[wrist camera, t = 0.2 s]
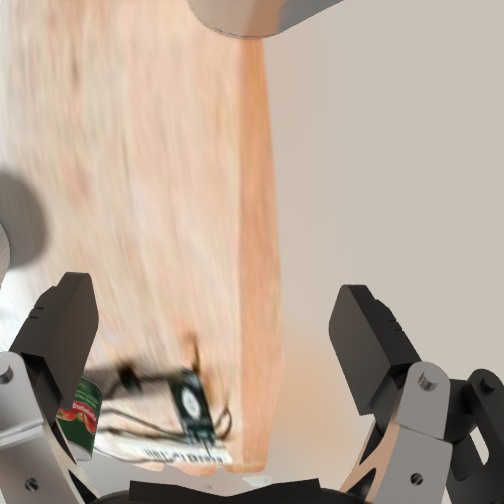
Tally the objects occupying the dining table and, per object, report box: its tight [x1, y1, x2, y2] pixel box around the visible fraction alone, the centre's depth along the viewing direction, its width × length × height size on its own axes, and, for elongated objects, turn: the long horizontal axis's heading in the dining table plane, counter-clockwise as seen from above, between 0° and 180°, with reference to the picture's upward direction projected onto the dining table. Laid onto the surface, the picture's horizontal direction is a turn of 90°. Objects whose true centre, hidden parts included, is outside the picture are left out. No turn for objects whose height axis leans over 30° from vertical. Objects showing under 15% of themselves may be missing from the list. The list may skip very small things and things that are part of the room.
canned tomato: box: [56, 375, 104, 461], centre depth 35 cm, size 8×8×11 cm
